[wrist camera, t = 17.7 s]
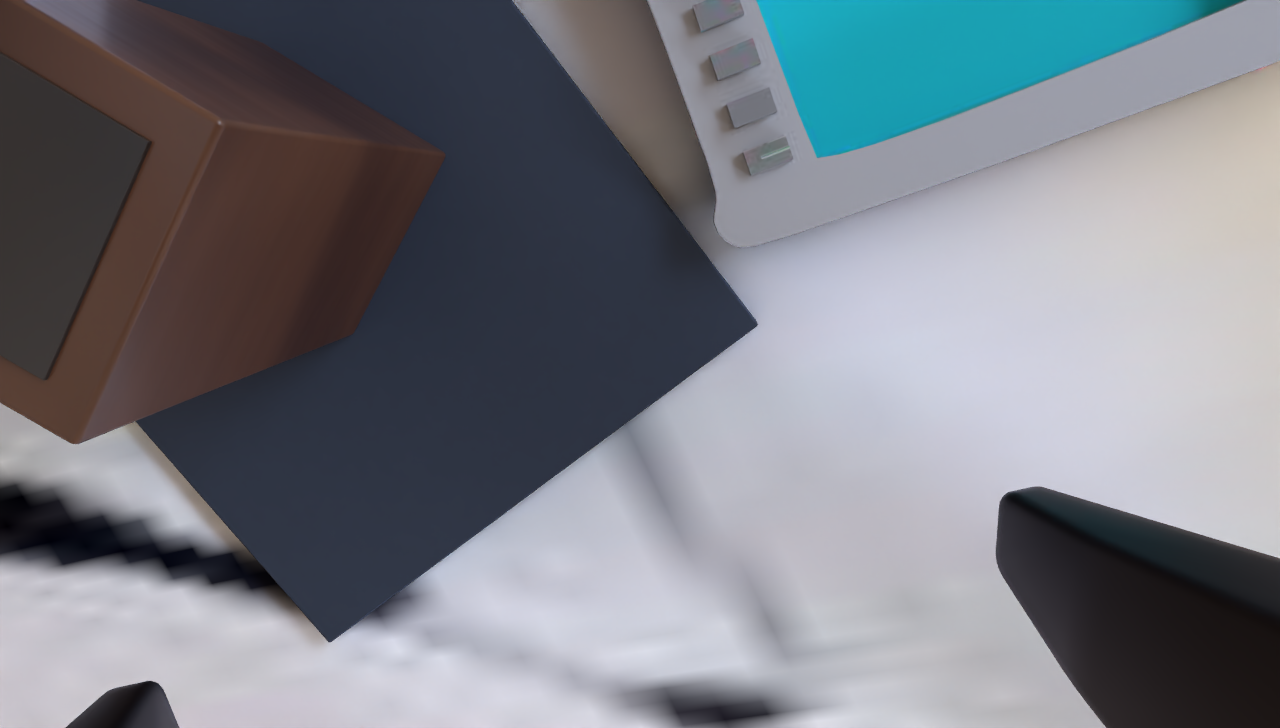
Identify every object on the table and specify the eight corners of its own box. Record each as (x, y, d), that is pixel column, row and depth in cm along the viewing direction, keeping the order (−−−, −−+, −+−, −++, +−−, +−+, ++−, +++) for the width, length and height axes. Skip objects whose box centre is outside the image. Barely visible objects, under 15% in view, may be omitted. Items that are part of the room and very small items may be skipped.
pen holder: (448, 153, 20) (220, 120, 11) (353, 335, 21) (69, 450, 12) (260, 40, 20) (-140, -96, 10) (173, 229, 21) (-260, 259, 12)
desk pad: (757, 322, 21) (758, 325, 20) (335, 636, 23) (328, 644, 23) (319, -252, 19) (311, -261, 19) (-85, 155, 21) (-100, 154, 21)
